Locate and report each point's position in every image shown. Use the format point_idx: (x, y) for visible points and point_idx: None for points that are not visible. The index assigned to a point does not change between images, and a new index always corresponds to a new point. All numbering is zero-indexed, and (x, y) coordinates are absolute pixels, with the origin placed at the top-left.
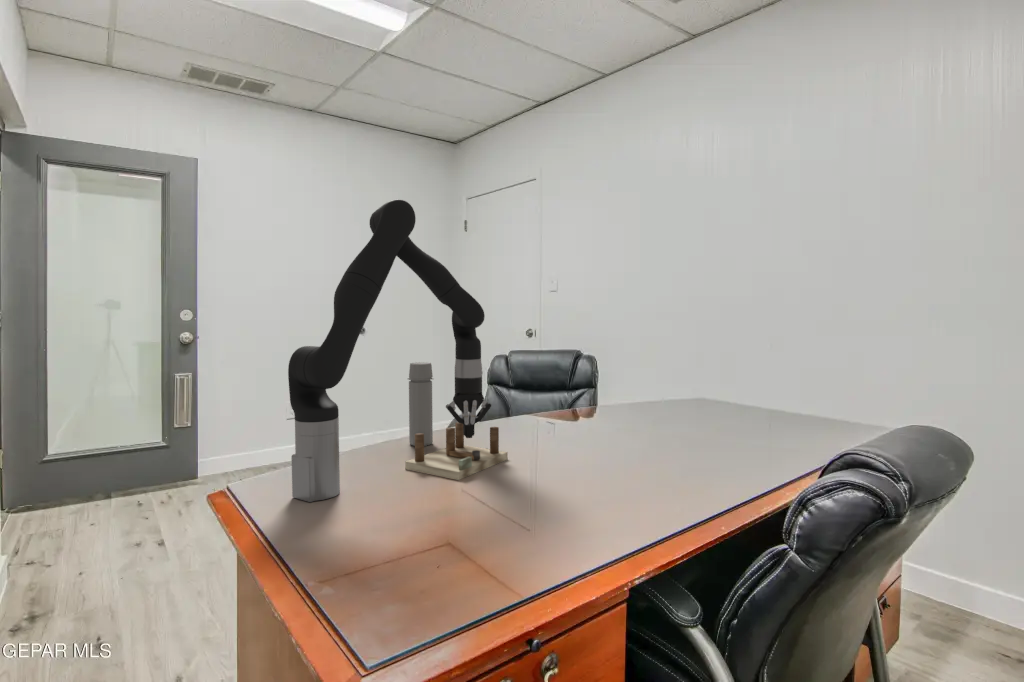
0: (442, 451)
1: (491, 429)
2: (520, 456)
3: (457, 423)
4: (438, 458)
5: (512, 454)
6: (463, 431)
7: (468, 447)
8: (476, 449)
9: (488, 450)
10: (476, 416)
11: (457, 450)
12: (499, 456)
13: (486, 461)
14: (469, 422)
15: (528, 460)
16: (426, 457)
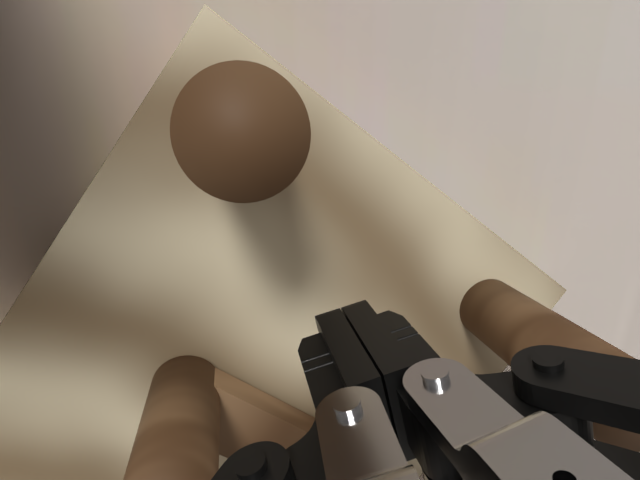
0: (99, 275)
1: (597, 439)
2: (615, 210)
3: (212, 184)
4: (106, 461)
5: (583, 160)
6: (304, 372)
7: (312, 148)
8: (374, 216)
9: (456, 246)
10: (561, 412)
11: (241, 418)
12: (503, 361)
13: (420, 470)
14: (411, 431)
15: (632, 292)
16: (1, 445)
